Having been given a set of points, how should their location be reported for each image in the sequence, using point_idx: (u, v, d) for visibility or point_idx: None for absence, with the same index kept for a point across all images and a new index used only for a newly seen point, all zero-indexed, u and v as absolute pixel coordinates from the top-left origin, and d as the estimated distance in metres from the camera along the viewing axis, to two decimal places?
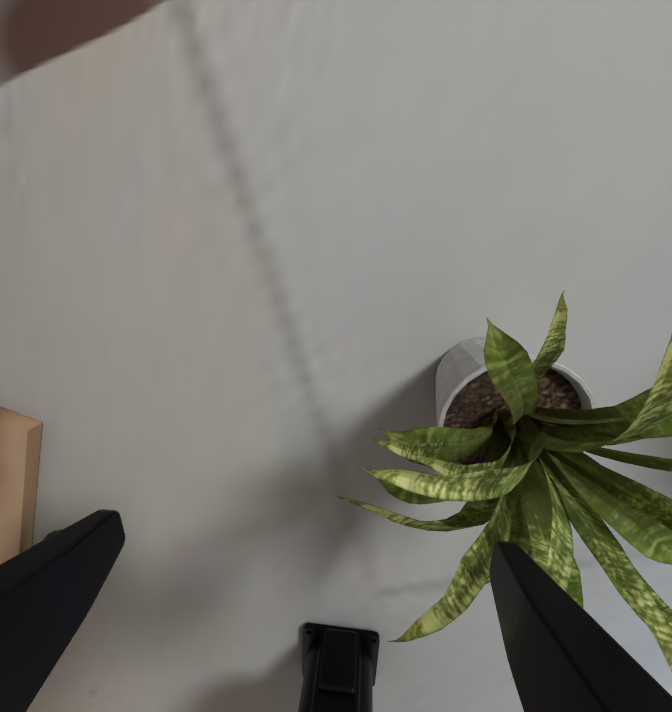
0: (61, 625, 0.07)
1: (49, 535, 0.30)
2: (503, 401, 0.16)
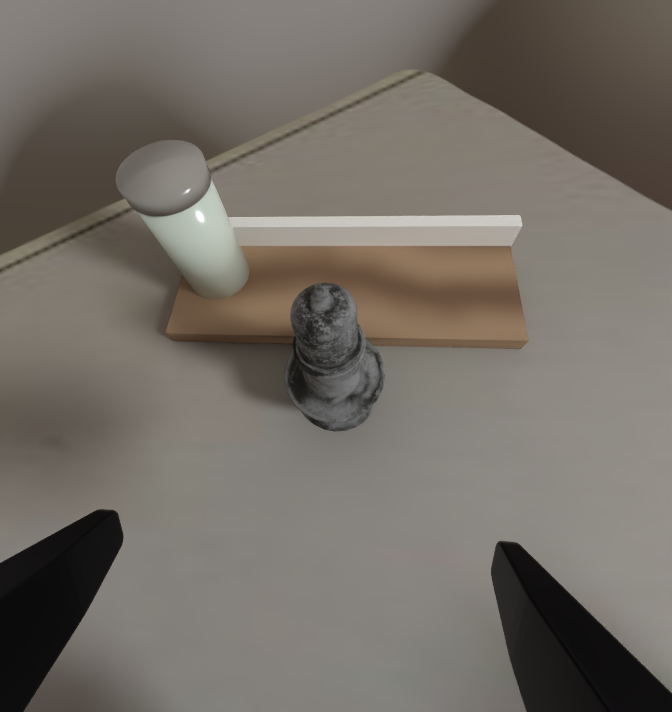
0: (59, 625, 0.07)
1: None
2: None
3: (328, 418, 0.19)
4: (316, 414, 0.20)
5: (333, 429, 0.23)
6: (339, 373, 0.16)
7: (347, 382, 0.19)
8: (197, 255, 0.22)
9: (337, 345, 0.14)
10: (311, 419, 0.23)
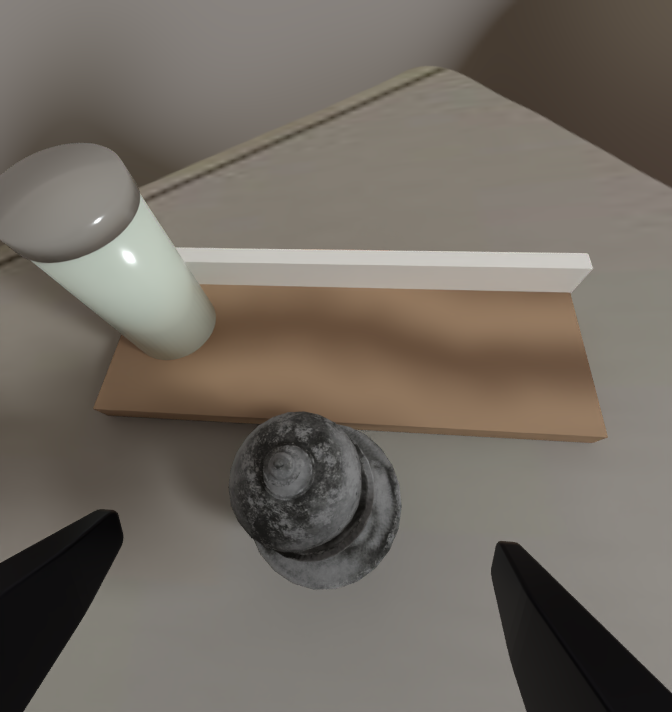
0: (59, 625, 0.07)
1: None
2: None
3: (312, 583, 0.12)
4: (293, 574, 0.12)
5: None
6: (327, 554, 0.09)
7: None
8: (127, 311, 0.15)
9: None
10: None
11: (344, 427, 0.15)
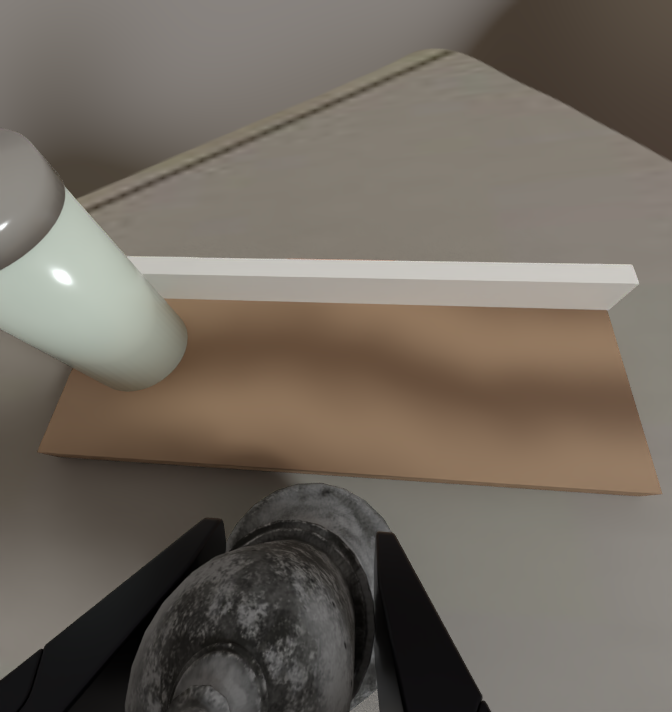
0: None
1: None
2: None
3: None
4: None
5: None
6: None
7: None
8: (62, 342, 0.12)
9: None
10: None
11: (337, 489, 0.11)
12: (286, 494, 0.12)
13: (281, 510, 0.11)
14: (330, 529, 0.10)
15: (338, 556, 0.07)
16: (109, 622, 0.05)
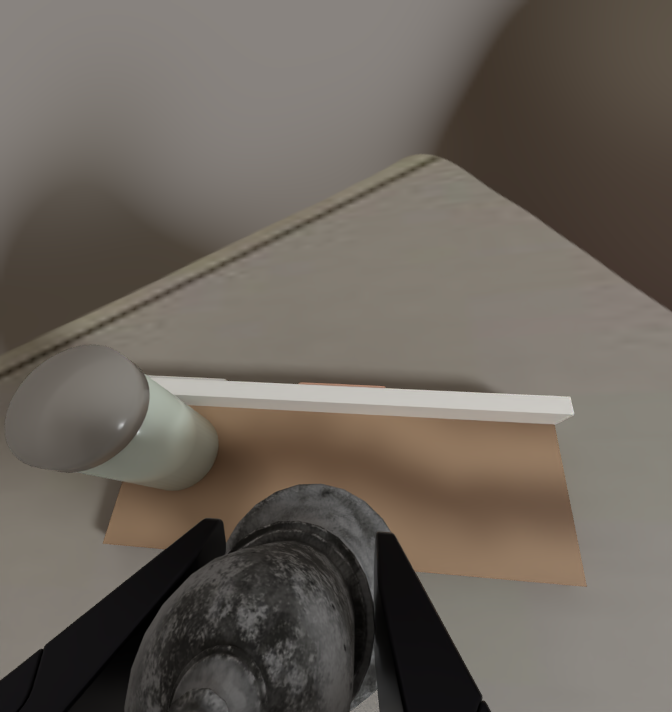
0: None
1: None
2: None
3: None
4: None
5: None
6: None
7: None
8: (136, 479, 0.16)
9: None
10: None
11: (337, 490, 0.11)
12: (286, 495, 0.11)
13: (281, 511, 0.11)
14: (330, 529, 0.10)
15: (338, 557, 0.07)
16: (109, 622, 0.05)
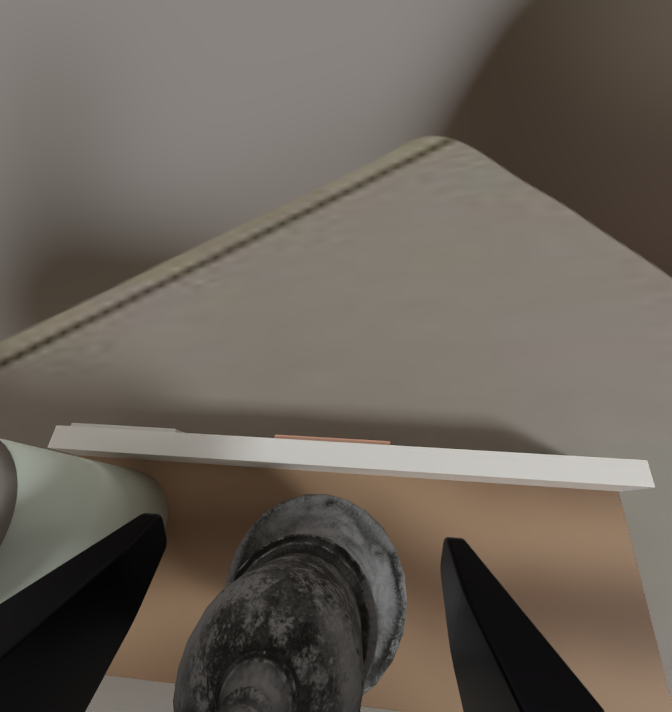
0: (112, 631, 0.07)
1: None
2: None
3: None
4: None
5: None
6: None
7: None
8: None
9: None
10: None
11: (340, 500, 0.12)
12: (292, 504, 0.12)
13: (288, 520, 0.12)
14: (335, 538, 0.11)
15: (345, 568, 0.08)
16: (20, 612, 0.06)
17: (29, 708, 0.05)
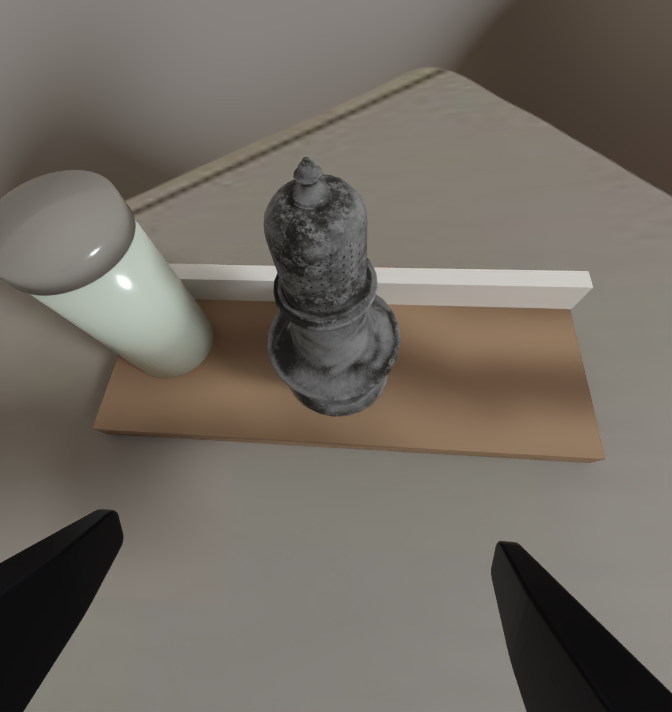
0: (59, 625, 0.07)
1: None
2: None
3: (324, 395, 0.14)
4: (308, 389, 0.14)
5: (332, 414, 0.17)
6: (339, 323, 0.11)
7: (351, 343, 0.13)
8: (124, 336, 0.15)
9: (335, 269, 0.09)
10: (304, 401, 0.18)
11: None
12: None
13: None
14: None
15: None
16: None
17: None
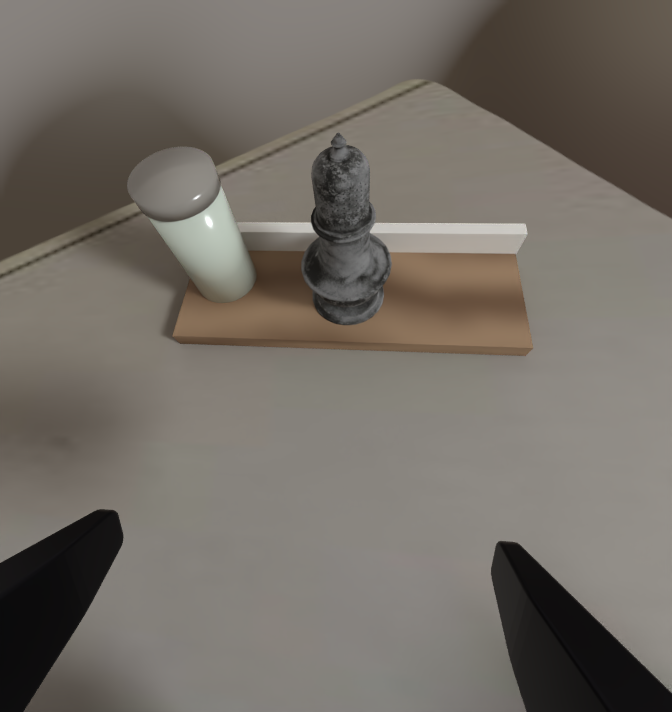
0: (59, 625, 0.07)
1: None
2: None
3: (341, 297, 0.22)
4: (330, 294, 0.22)
5: (344, 323, 0.25)
6: (352, 237, 0.19)
7: (359, 259, 0.21)
8: (206, 259, 0.22)
9: (352, 197, 0.17)
10: (324, 315, 0.25)
11: None
12: None
13: None
14: None
15: None
16: None
17: None
